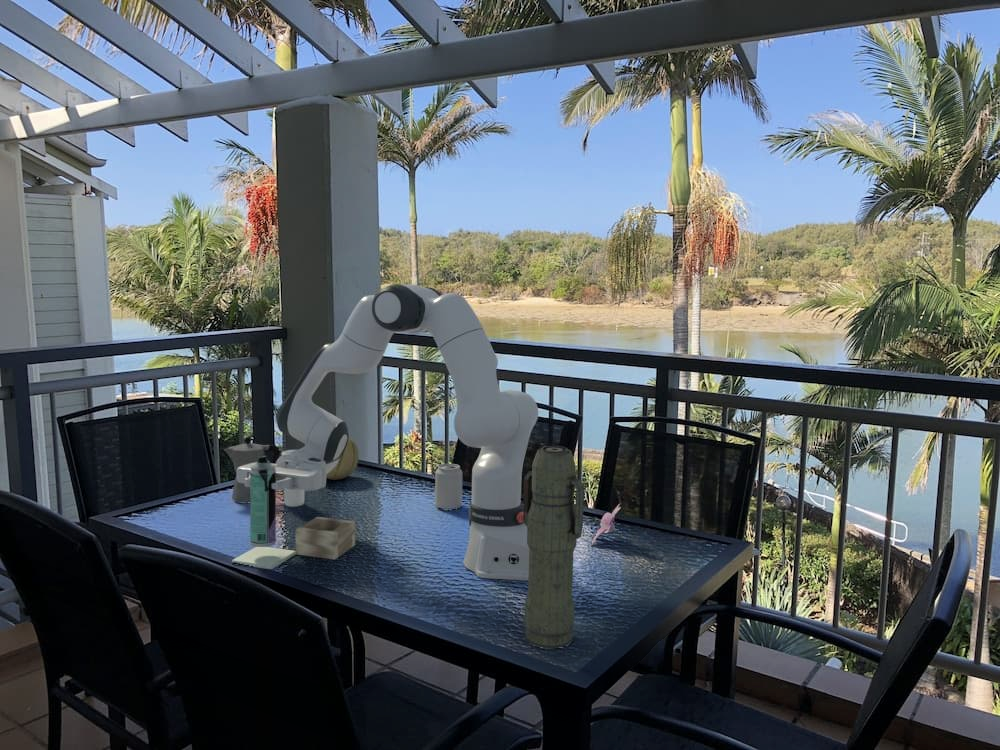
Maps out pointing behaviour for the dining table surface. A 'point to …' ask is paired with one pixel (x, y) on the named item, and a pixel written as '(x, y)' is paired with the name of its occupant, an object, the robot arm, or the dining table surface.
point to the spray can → (262, 504)
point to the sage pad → (264, 557)
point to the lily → (607, 524)
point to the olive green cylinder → (551, 545)
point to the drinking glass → (293, 493)
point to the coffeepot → (246, 456)
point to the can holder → (325, 537)
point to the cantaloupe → (345, 462)
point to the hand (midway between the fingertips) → (260, 484)
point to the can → (448, 486)
